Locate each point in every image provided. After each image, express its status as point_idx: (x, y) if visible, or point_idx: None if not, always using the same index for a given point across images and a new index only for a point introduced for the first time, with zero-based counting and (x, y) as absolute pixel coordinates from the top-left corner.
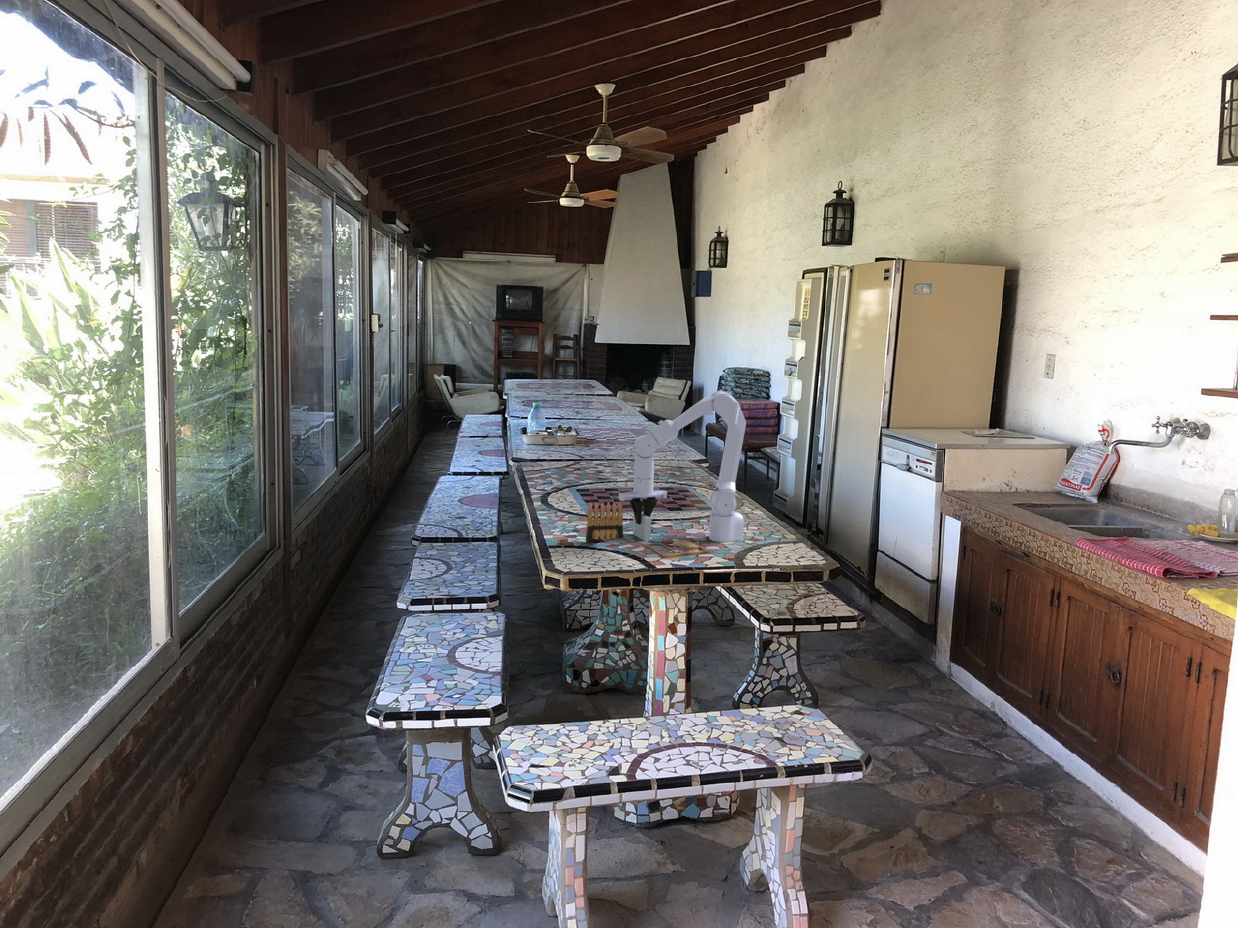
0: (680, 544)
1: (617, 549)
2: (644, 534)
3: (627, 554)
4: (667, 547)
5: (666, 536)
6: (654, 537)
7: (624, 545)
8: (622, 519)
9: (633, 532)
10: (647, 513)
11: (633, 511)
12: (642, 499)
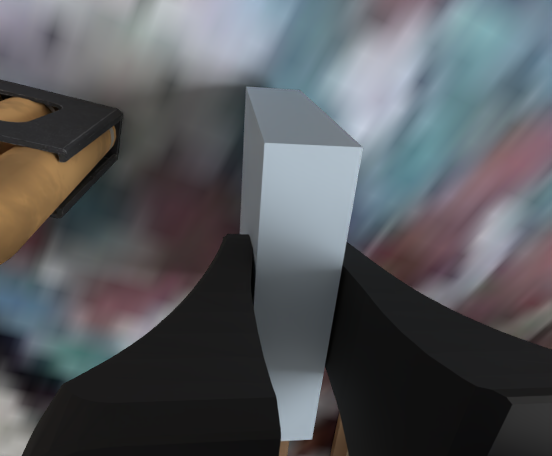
0: None
1: (16, 303)
2: None
3: (52, 396)
4: (282, 442)
5: (513, 129)
6: (419, 121)
7: (97, 238)
8: (33, 233)
9: (247, 101)
10: (339, 384)
11: (189, 294)
12: (461, 396)
